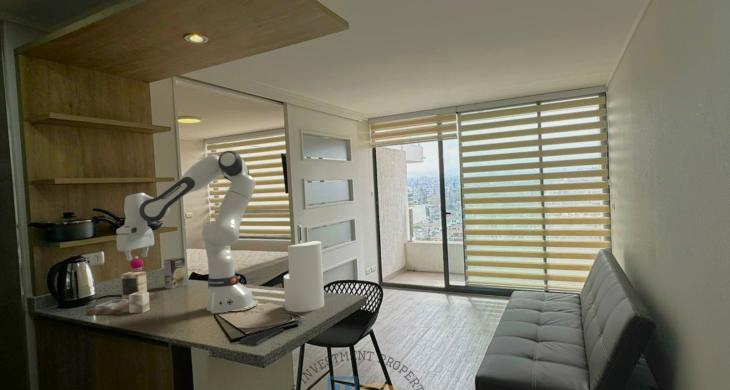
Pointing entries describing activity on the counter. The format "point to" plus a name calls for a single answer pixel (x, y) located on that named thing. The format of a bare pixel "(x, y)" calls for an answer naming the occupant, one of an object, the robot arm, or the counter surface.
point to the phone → (261, 337)
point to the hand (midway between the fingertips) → (137, 258)
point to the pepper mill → (136, 264)
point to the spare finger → (139, 302)
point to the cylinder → (304, 278)
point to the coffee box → (174, 273)
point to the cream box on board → (124, 294)
